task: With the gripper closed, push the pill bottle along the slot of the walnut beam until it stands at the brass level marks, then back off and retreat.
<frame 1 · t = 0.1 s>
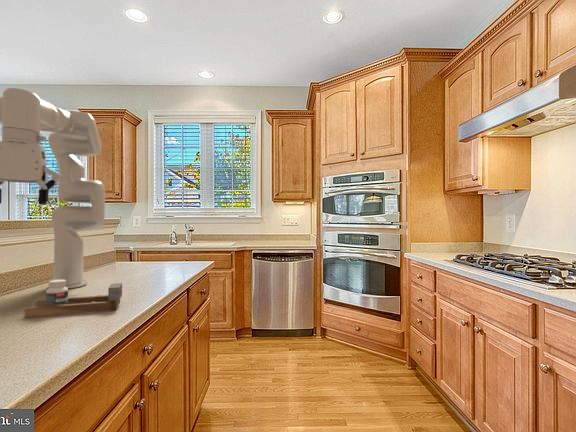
hand: (20, 204, 81), 31 cm above the counter, fingers open, 9 cm apart
beam: (76, 309, 94), on the counter
pill bottle: (56, 311, 92), resting in beam
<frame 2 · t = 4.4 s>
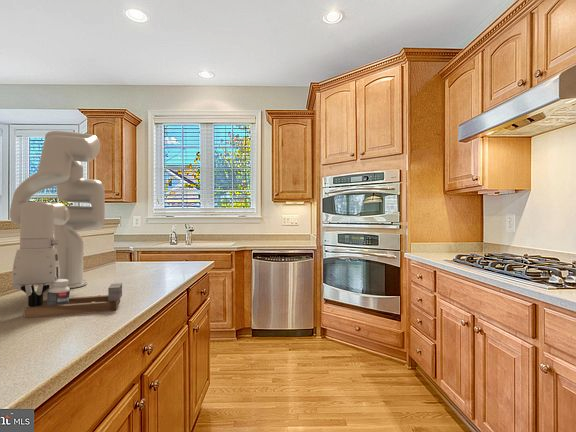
hand: (35, 308, 90), 1 cm above the counter, fingers closed
pill bottle: (57, 311, 92), resting in beam, touching gripper
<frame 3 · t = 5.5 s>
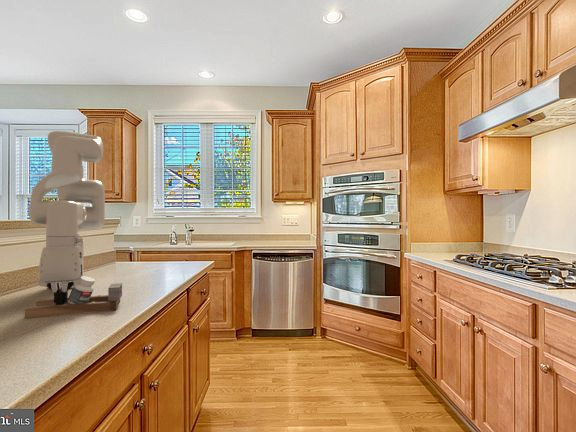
hand: (60, 305, 91), 2 cm above the counter, fingers closed
pill bottle: (75, 307, 93), point 1 cm above the counter, touching gripper
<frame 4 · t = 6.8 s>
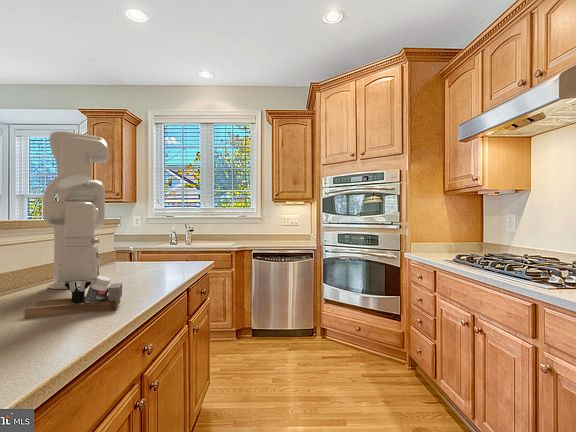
hand: (78, 304, 93), 2 cm above the counter, fingers closed
pill bottle: (92, 306, 95), point 1 cm above the counter, touching beam, gripper
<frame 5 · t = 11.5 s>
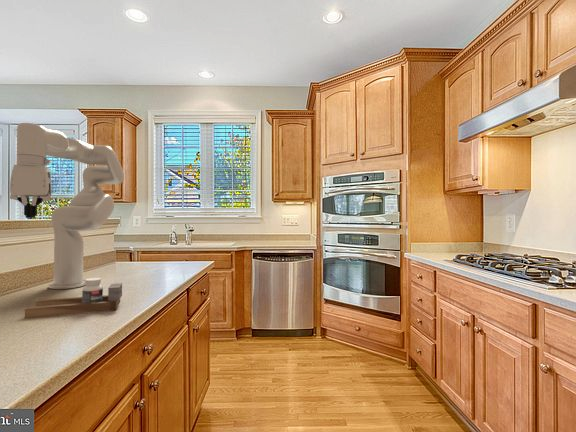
hand: (30, 217, 102), 27 cm above the counter, fingers closed
pill bottle: (92, 308, 95), resting in beam
at the end: pill bottle 1.3 cm from the target spot, resting in beam; pill bottle tilted 1° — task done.
